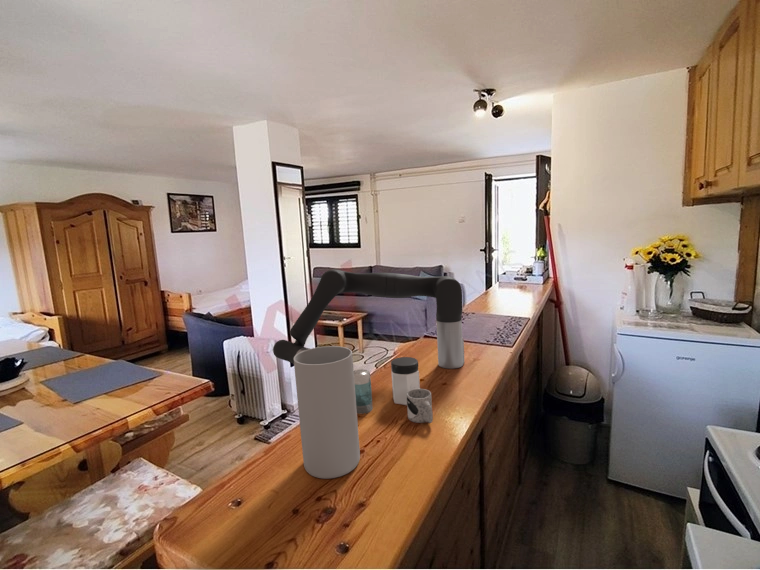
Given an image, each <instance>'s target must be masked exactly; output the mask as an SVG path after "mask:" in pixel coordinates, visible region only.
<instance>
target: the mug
mask: <svg viewBox="0 0 760 570" xmlns="http://www.w3.org/2000/svg"><path fill="white" fill-rule="evenodd" d="M432 404H433V403H432V391H430V390H429V389H425V388H420V389H413V390H410V391H408V392H407V405H406V407H407V408H406V409H407V419H408V420H409V421H410V422H413V423H417V424H419V423H420V424H422V423H429V424H431V423H432V422H433V419H434V415H433V408H432V407H433V405H432Z"/></svg>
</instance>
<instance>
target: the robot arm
mask: <svg viewBox="0 0 760 570" xmlns="http://www.w3.org/2000/svg"><path fill="white" fill-rule="evenodd" d="M342 293H359V294H360V293H361V294H364V295H369V296H374V297H378V298H387V299H388V298H389V299H405V298H413V297H428V298H435V300H436V301H435V302H436V303H435V305H436V311H435V313H436V314H435V318H436V319H435V320H436V339H437V341H436V344H437V362H438V363H437V364H438V366H439V367H440V368H443V369H448V370H449V369H451V370H453V369H458V368H461V367H463V366H464V364H465V343H464V341H465V340H464V337H463V328H462V327H463V324H462V323H463V322H462V321H463V319H462V314H463V290H462V286H461V284H460V282H459V281H458V280H457V279H456V278H454V277H452V276H448V275H443V276H442V275H441V276H419V275H418V276H417V275H412V274H406V273H405V274H404V273H395V272H394V273H393V272H368V273H366V272H364V273H359V272H351V271H345V270H341V269H335V268H334V269H329V270H327V271H325V272H324V273H323V274H322V275H321V277H320V279H319V282H318V284H317V287H316V289H315V290H314V293H313V295H312V297H311V299H310V300H309V301H308V303H307V305H306V306H305V307H304V309H303V311H302V312H301V313H300V315H299V317H298V318H297V319H296V321H295V322H294V324H293V325H292V327H291V328H290V330H289V334H290V336H291V338H293V339H294V342H292V341H289V340H287V339H280V340H277V341H276V342H275V343H274V345H273V347H272V352H273V355H274V356H275V358H277V359H279V360H283V361H286V362H288V363H291V364H292V365H294V356H295V355H297V354H298V353H300V352H302V351H305V350H308V349H311V348H308V347H306V346H305V345H306V342H307V340H308V338H309V337H310V335H311V333H313V330H314V329H315V327H316V326H317V325H318V322H319V320H320V319H321V316H322V315H323V313H324V311H325V310H326V308H327V306H328V305H329V304H330V303H331V302H332V301H333V299H334V298H336V296H338V294H342Z"/></svg>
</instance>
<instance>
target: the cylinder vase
mask: <svg viewBox="0 0 760 570" xmlns="http://www.w3.org/2000/svg"><path fill="white" fill-rule="evenodd" d="M293 366H294V367H293V368H294V378H295V379H294V380H295V386H296V387H295V388H296V397H297V398H296V399H297V407H298V408H297V409H298V417H299V419H298V420H299V431H300V439H301V440H300V441H301V449H302V451H301V452H302V460H303V466H304V469H305V471H306V472H307V473H308V474H309V475H310V476H312V477H315V478H319V479H325V480H326V479H329V480H330V479H336V478H340V477H343V476H345V475H347V474H349V473H351V472H352V471H353V470H354V469H355V468H356V467H357V466H358V465H359V462H360V459H361V451H360V439H359V438H360V437H359V436H360V435H359V423H358V413H357V409H356V395H355V382H354V371H355V370H354V359H353V351H352V350H351V349H350V348H349V347H345V346H339V345H338V346H337V345H331V346H330V345H328V346H319V347H313V348H310V349H308V350H305V351H302V352H300V353H298V354H297V355H295V356H294V364H293Z"/></svg>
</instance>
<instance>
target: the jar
mask: <svg viewBox="0 0 760 570" xmlns="http://www.w3.org/2000/svg"><path fill="white" fill-rule="evenodd" d="M390 367H391V369H390V370H391V386H392V399H393V402H394V404H396V405H397V404H398V405H403V406H407V392H408V391H410V390H413V389H421V385H420V384H421V383H420V371H419V361H418V359H417V358H414V357H411V356H402V357H396V358H393V359H391V362H390Z"/></svg>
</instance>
